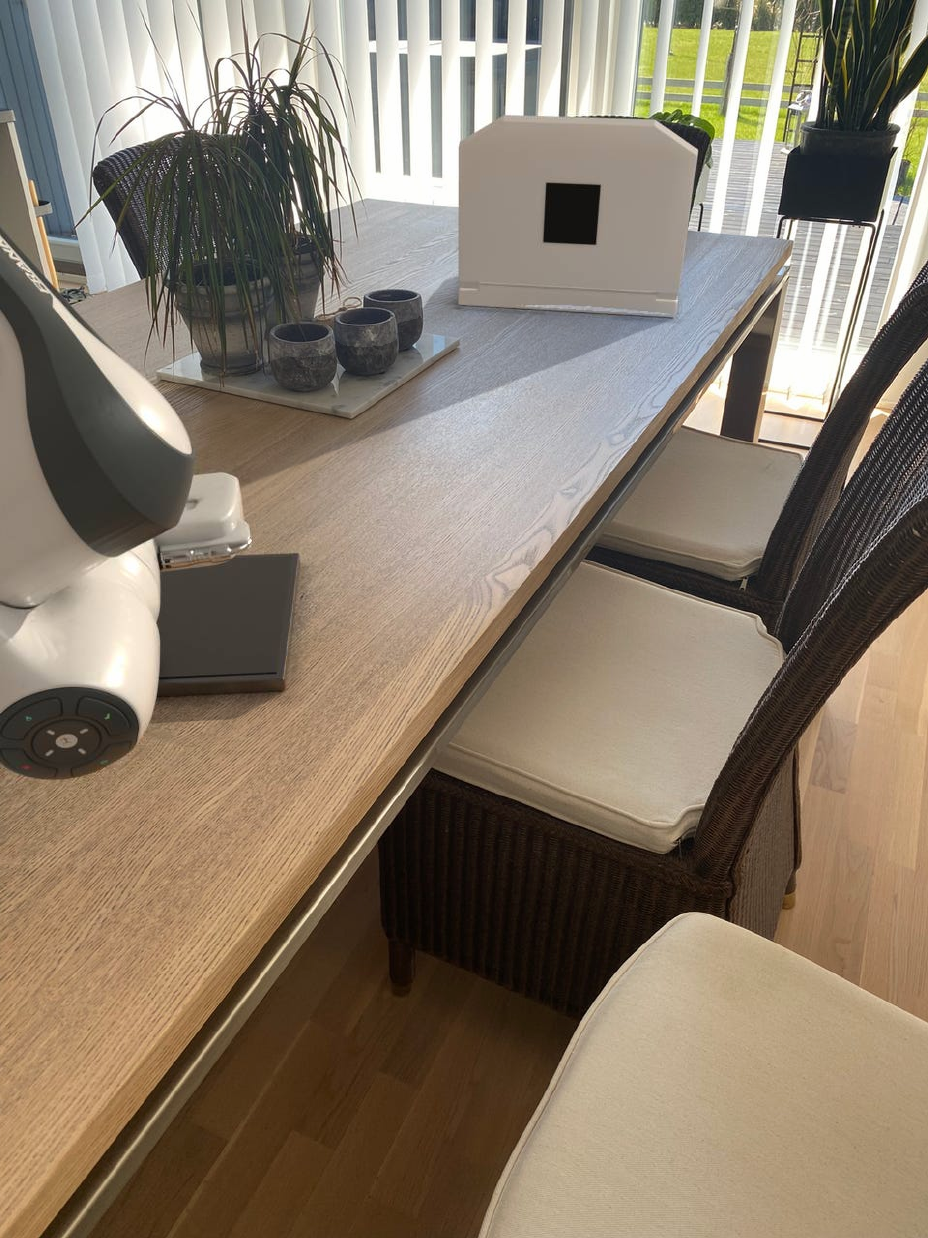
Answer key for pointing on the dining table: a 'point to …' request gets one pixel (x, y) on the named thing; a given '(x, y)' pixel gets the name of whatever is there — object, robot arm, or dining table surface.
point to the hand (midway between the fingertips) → (98, 477)
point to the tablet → (227, 625)
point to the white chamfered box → (574, 214)
